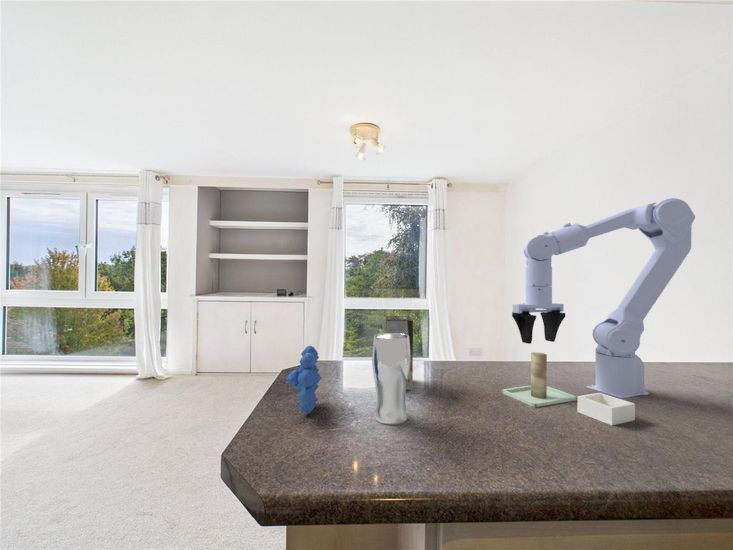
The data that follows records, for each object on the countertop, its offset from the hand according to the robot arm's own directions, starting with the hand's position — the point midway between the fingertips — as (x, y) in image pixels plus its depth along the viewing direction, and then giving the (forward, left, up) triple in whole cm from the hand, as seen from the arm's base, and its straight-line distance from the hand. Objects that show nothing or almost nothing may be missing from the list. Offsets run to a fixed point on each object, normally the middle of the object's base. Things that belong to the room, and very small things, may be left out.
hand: (538, 342), depth 80 cm
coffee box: (+32, -12, -11) cm, 36 cm away
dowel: (+8, +7, -10) cm, 15 cm away
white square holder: (+5, +19, -10) cm, 22 cm away
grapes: (+56, -4, -11) cm, 57 cm away
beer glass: (+42, +5, -11) cm, 44 cm away
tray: (+8, +7, -10) cm, 15 cm away
